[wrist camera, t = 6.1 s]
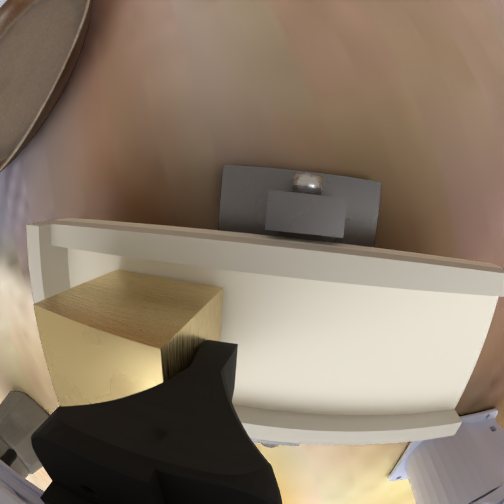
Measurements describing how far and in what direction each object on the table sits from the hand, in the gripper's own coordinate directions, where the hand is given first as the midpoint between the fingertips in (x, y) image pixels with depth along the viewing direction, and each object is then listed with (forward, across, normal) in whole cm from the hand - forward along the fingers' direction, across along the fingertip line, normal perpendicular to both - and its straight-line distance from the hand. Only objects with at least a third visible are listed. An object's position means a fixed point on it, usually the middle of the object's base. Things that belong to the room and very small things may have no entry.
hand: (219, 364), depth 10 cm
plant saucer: (+7, +22, -17) cm, 28 cm away
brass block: (+2, +3, 0) cm, 3 cm away
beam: (+3, -2, 0) cm, 4 cm away
